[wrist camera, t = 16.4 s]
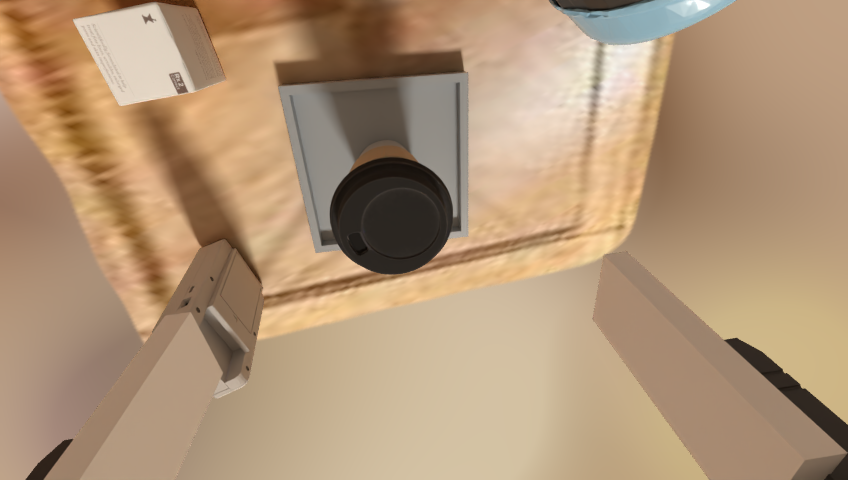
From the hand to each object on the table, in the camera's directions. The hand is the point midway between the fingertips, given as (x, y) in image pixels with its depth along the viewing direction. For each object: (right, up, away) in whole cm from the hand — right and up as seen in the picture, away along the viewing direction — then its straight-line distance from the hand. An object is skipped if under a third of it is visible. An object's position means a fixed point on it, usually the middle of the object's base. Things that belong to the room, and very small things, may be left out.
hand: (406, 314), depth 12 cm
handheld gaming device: (-21, -1, +32) cm, 39 cm away
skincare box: (-21, +19, +21) cm, 36 cm away
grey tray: (-4, +10, +28) cm, 30 cm away
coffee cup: (-3, +10, +28) cm, 30 cm away
